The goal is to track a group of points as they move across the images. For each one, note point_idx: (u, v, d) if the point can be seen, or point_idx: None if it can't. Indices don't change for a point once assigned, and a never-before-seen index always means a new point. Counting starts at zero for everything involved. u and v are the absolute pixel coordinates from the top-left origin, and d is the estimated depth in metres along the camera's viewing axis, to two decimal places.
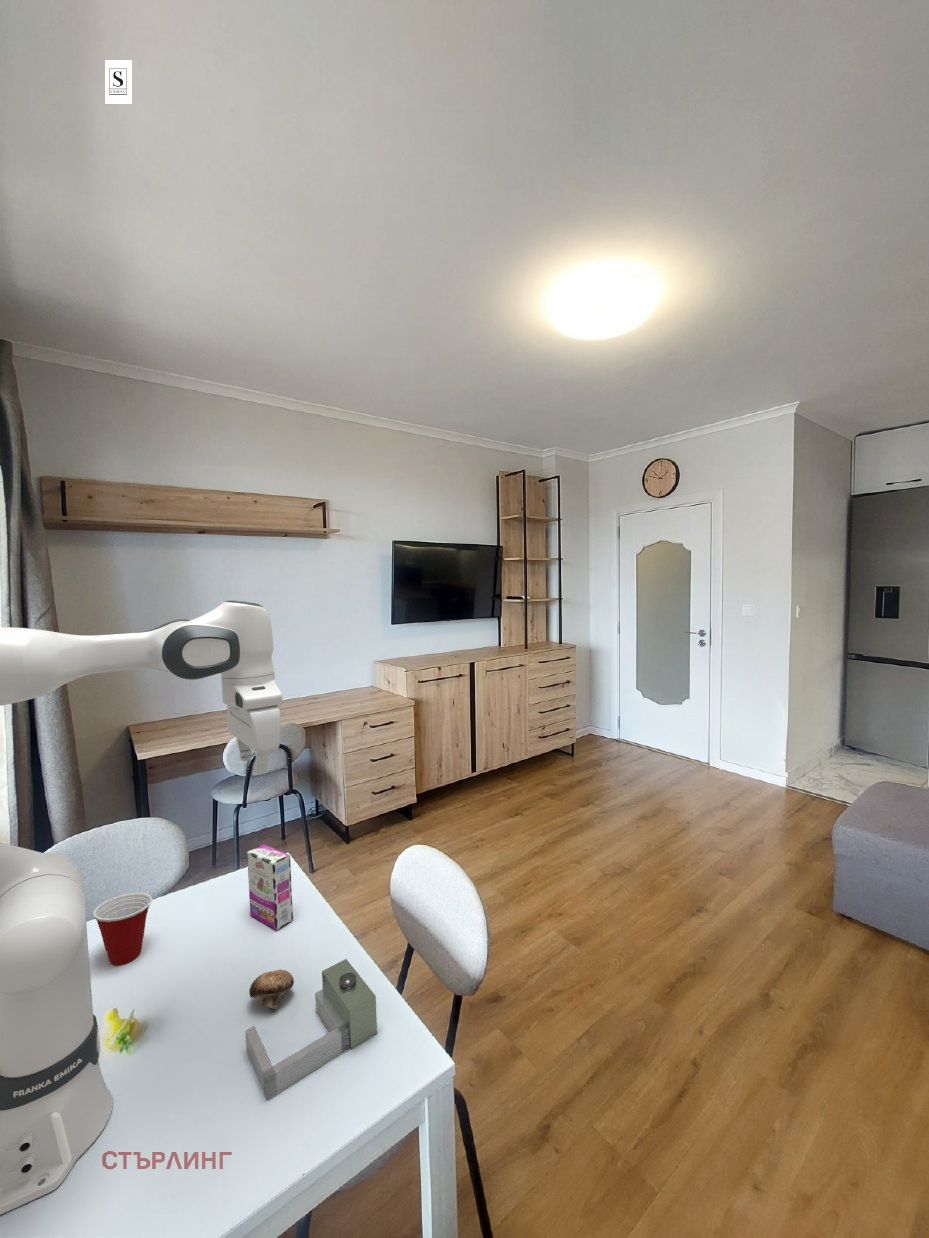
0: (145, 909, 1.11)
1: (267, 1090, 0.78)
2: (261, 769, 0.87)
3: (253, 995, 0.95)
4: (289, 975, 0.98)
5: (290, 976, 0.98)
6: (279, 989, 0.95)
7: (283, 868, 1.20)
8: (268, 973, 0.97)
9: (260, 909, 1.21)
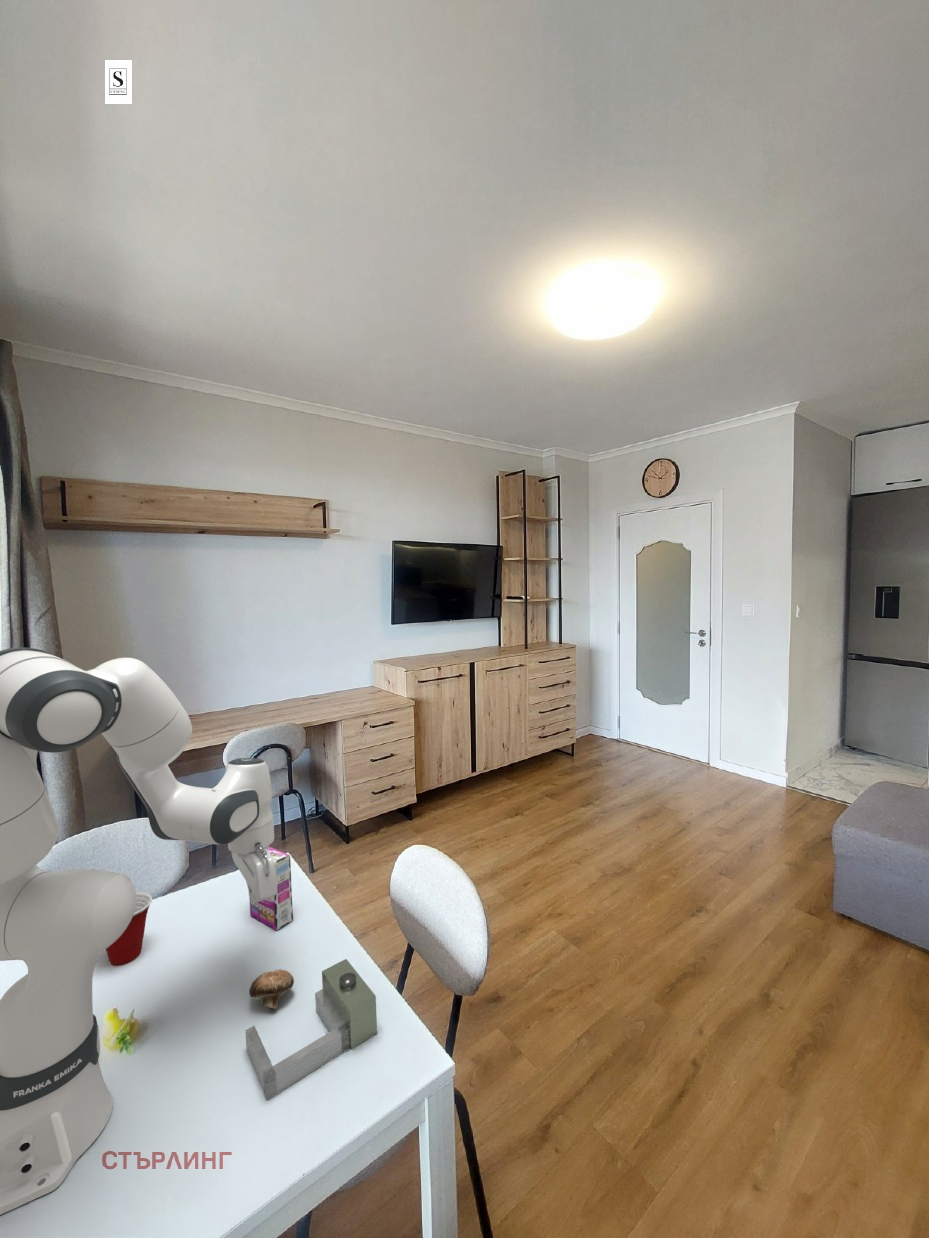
0: (145, 909, 1.11)
1: (267, 1090, 0.78)
2: None
3: (253, 995, 0.95)
4: (289, 975, 0.98)
5: (290, 976, 0.98)
6: (279, 989, 0.95)
7: (283, 868, 1.20)
8: (268, 973, 0.97)
9: (260, 909, 1.21)
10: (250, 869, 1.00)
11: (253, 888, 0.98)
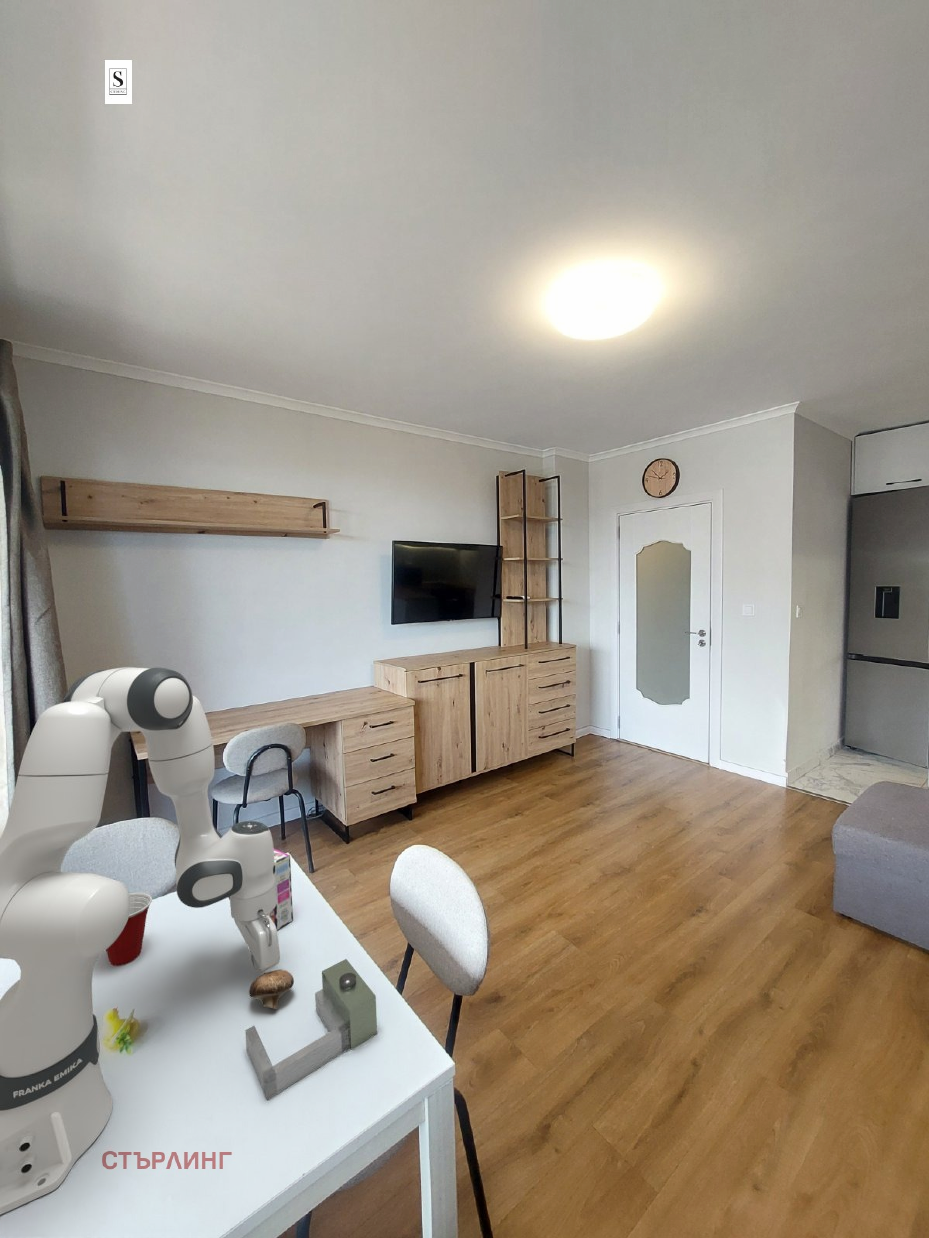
0: (145, 909, 1.11)
1: (267, 1090, 0.78)
2: None
3: (253, 995, 0.95)
4: (289, 975, 0.98)
5: (290, 976, 0.98)
6: (279, 989, 0.95)
7: (283, 868, 1.20)
8: (268, 973, 0.97)
9: None
10: (252, 936, 1.01)
11: (256, 957, 0.99)
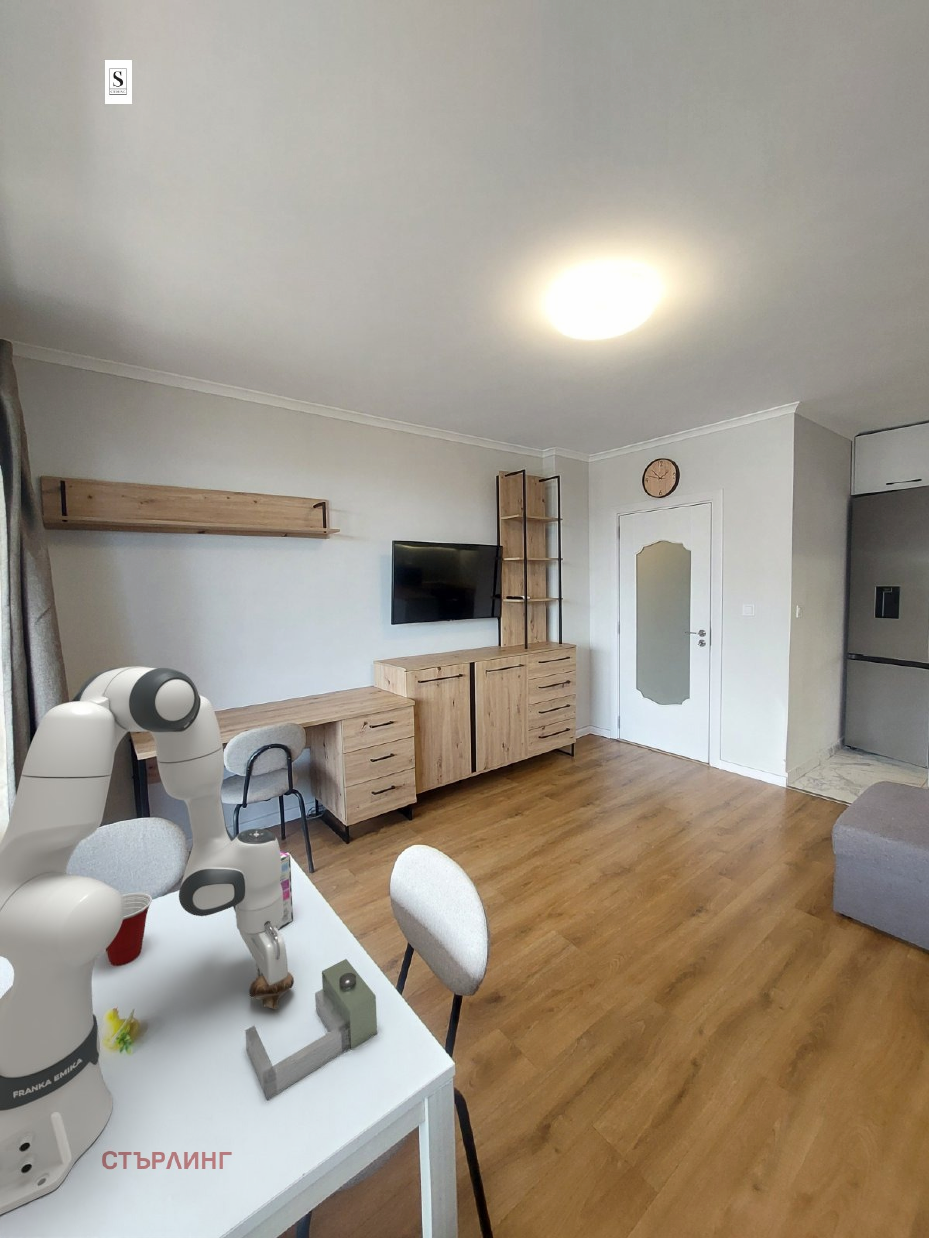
0: (145, 909, 1.11)
1: (267, 1090, 0.78)
2: None
3: (253, 995, 0.95)
4: (289, 975, 0.98)
5: (290, 976, 0.98)
6: (279, 989, 0.95)
7: (283, 868, 1.20)
8: None
9: None
10: (259, 949, 0.97)
11: (263, 970, 0.95)
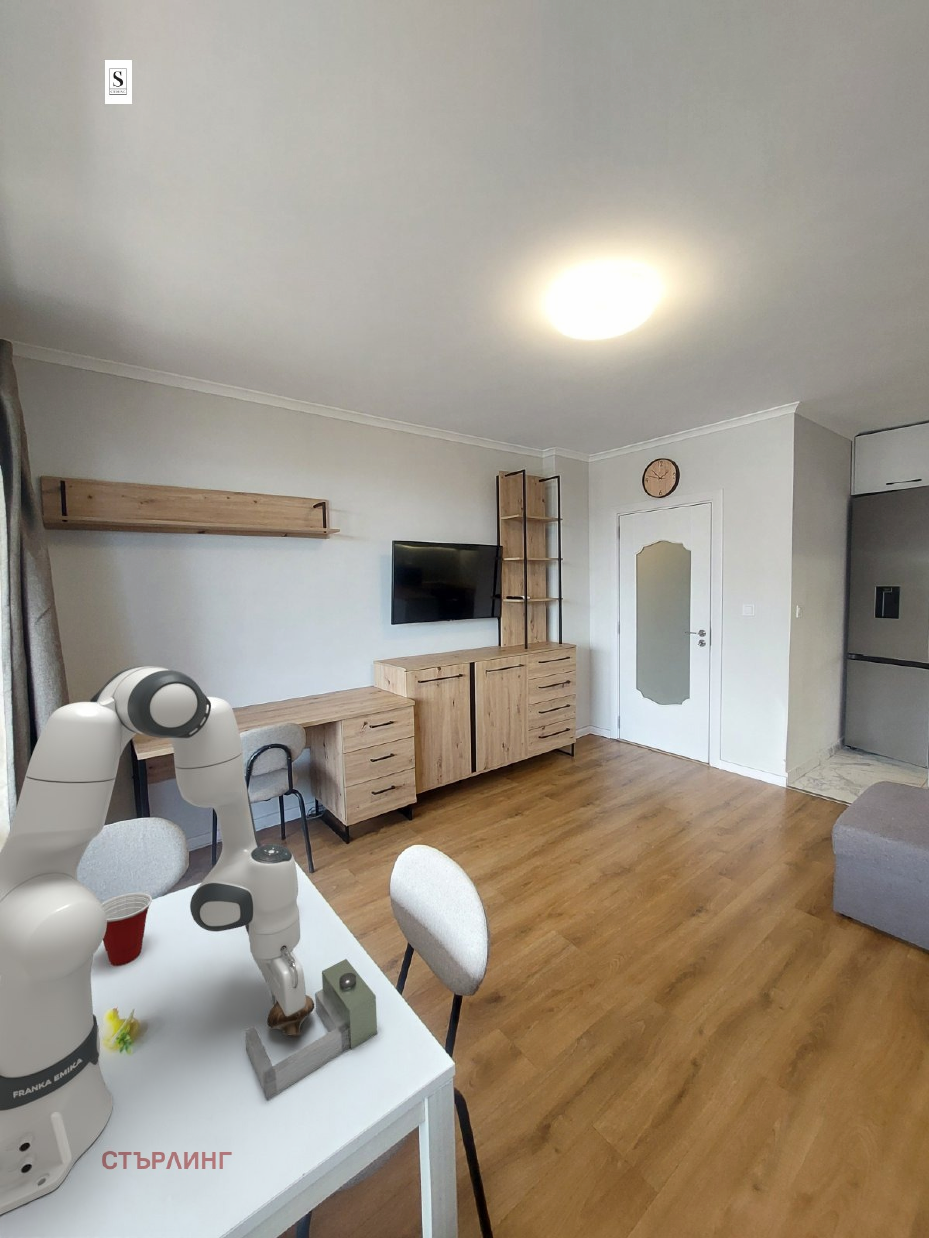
0: (145, 909, 1.11)
1: (267, 1090, 0.78)
2: None
3: (274, 1025, 0.88)
4: (309, 998, 0.93)
5: (310, 999, 0.93)
6: (303, 1014, 0.89)
7: None
8: None
9: None
10: (275, 976, 0.90)
11: (279, 999, 0.88)
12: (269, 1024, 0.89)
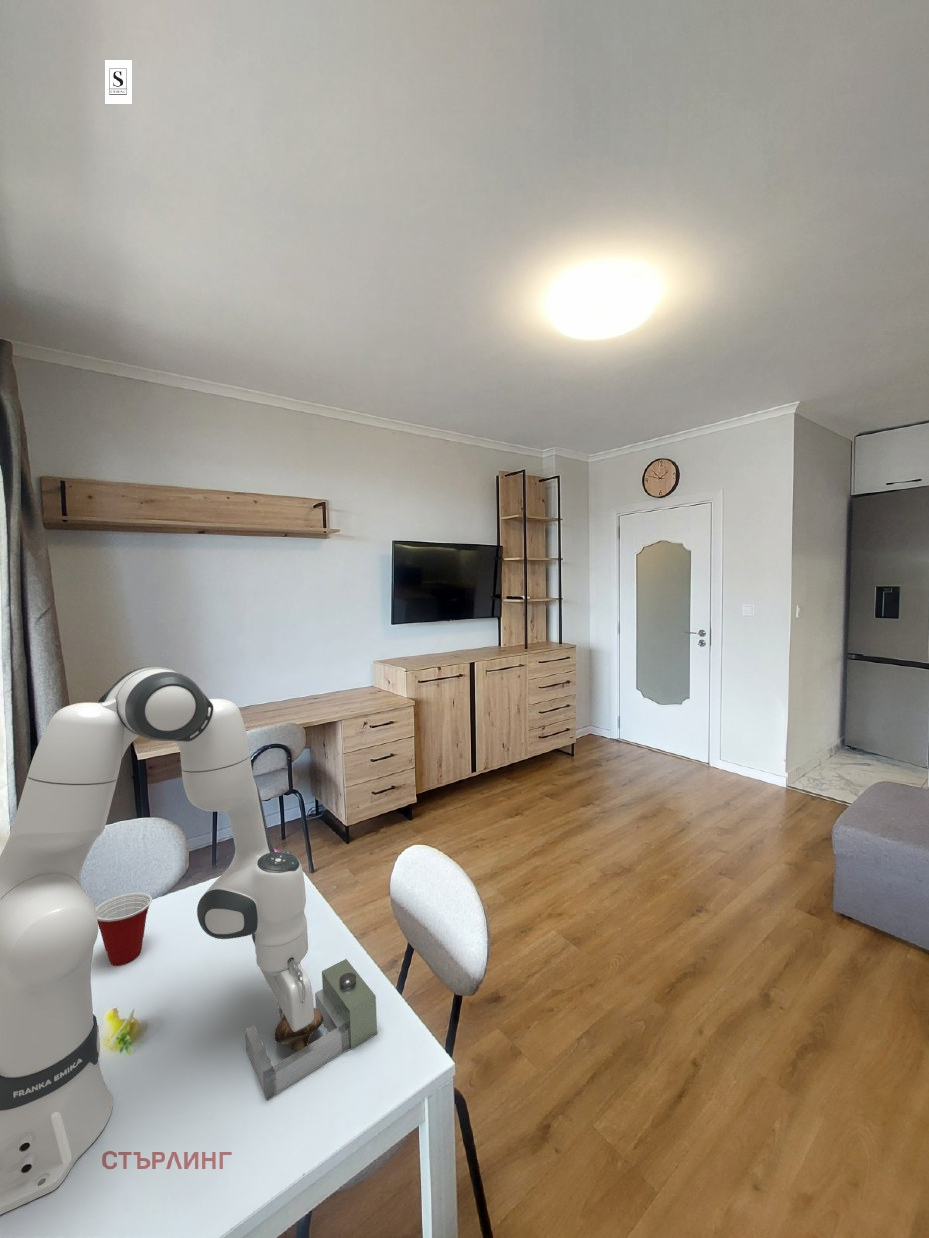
0: (145, 909, 1.11)
1: (267, 1090, 0.78)
2: None
3: (281, 1040, 0.85)
4: (317, 1011, 0.89)
5: (319, 1012, 0.89)
6: (311, 1028, 0.86)
7: None
8: None
9: None
10: (282, 989, 0.87)
11: (286, 1014, 0.85)
12: (276, 1039, 0.85)
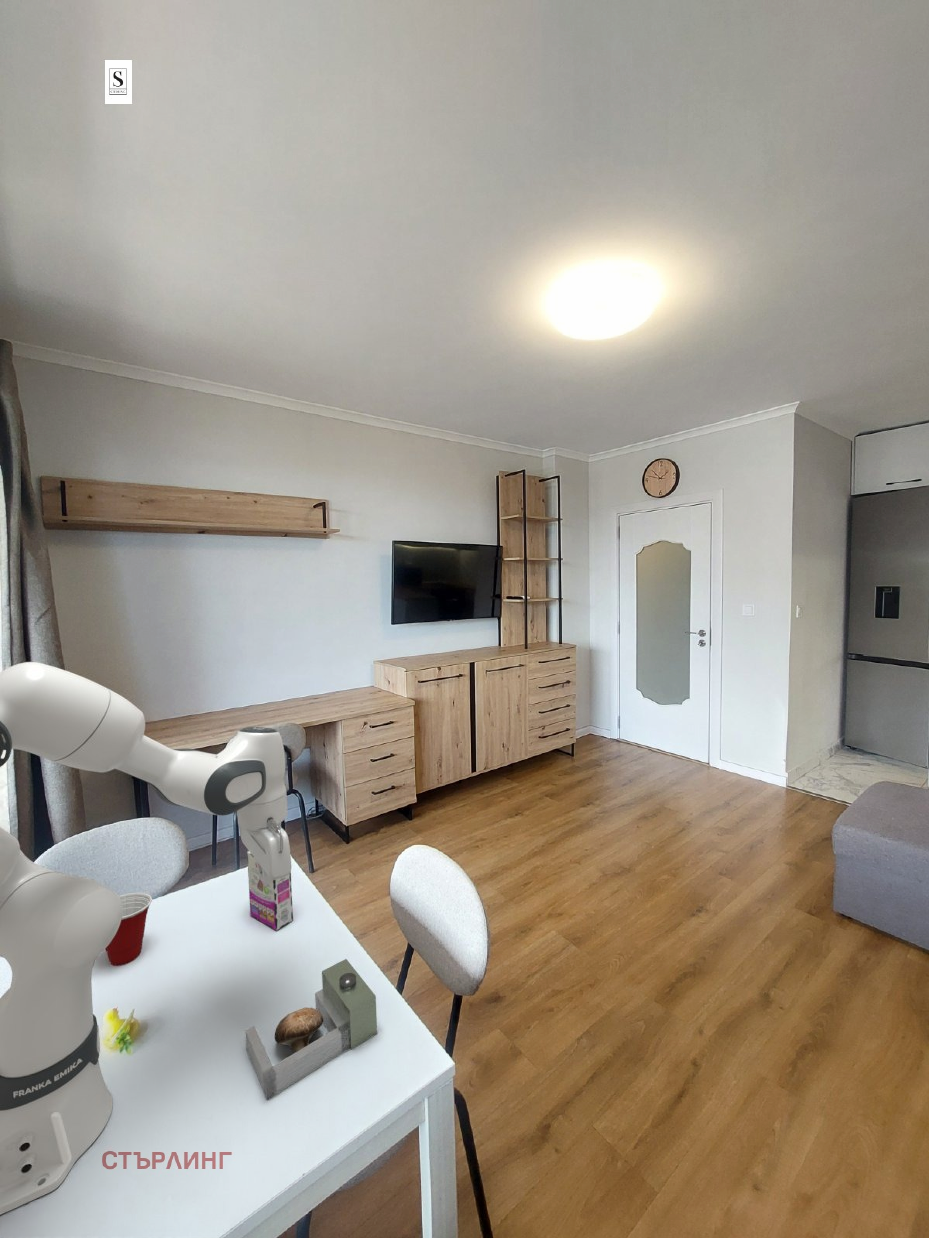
0: (145, 909, 1.11)
1: (267, 1090, 0.78)
2: None
3: (281, 1040, 0.85)
4: (318, 1012, 0.89)
5: (319, 1013, 0.89)
6: (311, 1029, 0.86)
7: None
8: (295, 1013, 0.88)
9: (260, 909, 1.21)
10: (261, 847, 0.92)
11: (265, 867, 0.90)
12: (277, 1040, 0.85)
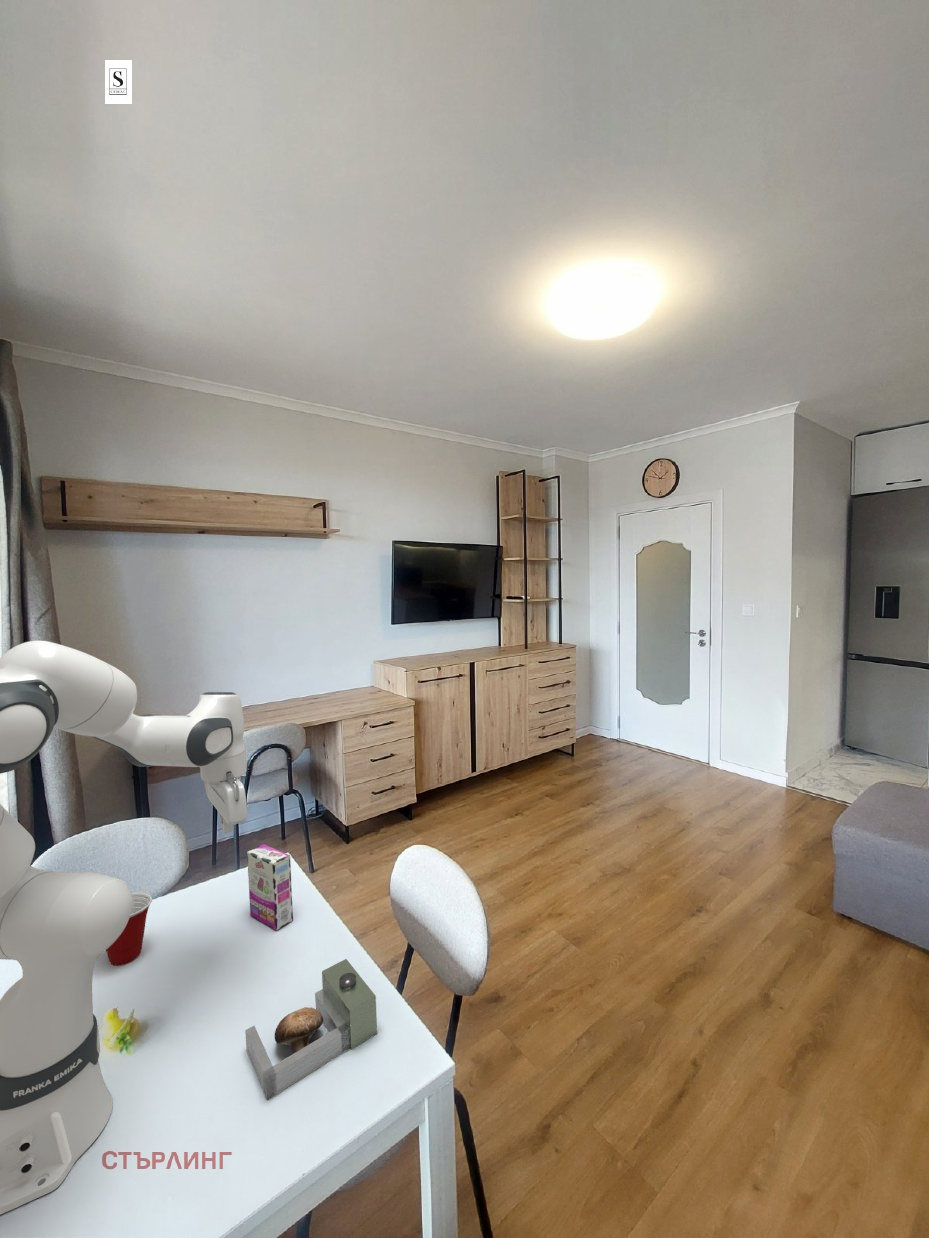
0: (145, 909, 1.11)
1: (267, 1090, 0.78)
2: None
3: (281, 1040, 0.85)
4: (318, 1012, 0.89)
5: (319, 1013, 0.89)
6: (311, 1029, 0.86)
7: (283, 868, 1.20)
8: (295, 1013, 0.88)
9: (260, 909, 1.21)
10: (221, 797, 1.03)
11: (224, 814, 1.01)
12: (277, 1040, 0.85)
